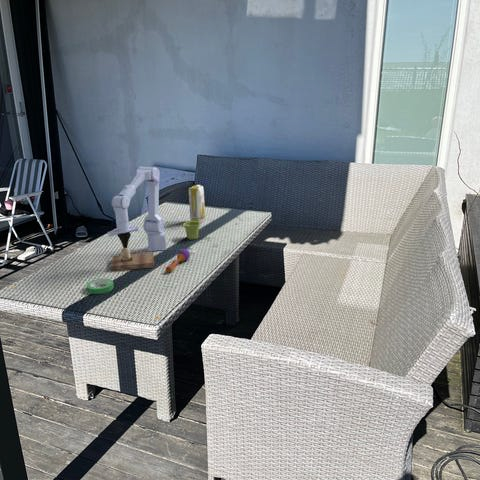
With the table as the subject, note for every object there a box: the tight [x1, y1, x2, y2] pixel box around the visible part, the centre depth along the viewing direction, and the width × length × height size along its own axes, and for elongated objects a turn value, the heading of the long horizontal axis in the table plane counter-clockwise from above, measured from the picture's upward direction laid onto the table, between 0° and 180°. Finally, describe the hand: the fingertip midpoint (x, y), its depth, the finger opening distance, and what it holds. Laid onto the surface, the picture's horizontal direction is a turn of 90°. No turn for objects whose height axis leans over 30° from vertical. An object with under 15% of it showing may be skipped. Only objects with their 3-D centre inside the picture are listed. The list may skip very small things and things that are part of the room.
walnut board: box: [110, 252, 155, 272], centre depth 224 cm, size 20×14×2 cm
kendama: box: [165, 248, 191, 274], centre depth 222 cm, size 6×6×20 cm
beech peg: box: [120, 247, 131, 262], centre depth 223 cm, size 4×4×8 cm
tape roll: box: [86, 277, 115, 295], centre depth 198 cm, size 11×11×3 cm
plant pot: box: [183, 220, 201, 240], centre depth 260 cm, size 9×9×9 cm
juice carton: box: [188, 184, 206, 225], centre depth 287 cm, size 9×8×24 cm
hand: (125, 247), depth 221 cm, fingers closed
